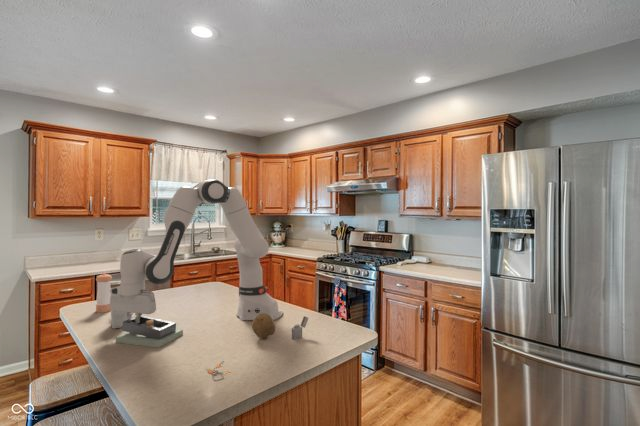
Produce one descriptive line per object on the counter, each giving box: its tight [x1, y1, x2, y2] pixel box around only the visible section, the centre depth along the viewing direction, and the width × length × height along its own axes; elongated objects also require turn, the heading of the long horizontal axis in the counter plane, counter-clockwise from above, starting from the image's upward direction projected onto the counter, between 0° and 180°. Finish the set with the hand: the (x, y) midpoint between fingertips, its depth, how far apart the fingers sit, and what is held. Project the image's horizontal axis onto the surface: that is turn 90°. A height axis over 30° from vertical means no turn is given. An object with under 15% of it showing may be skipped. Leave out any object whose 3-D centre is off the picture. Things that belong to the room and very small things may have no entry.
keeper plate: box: [115, 320, 184, 348], centre depth 139 cm, size 20×14×7 cm
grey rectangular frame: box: [121, 314, 177, 340], centre depth 139 cm, size 18×9×4 cm, turn 74°
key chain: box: [207, 360, 232, 382], centre depth 111 cm, size 13×7×1 cm, turn 28°
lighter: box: [291, 315, 309, 341], centre depth 139 cm, size 7×2×8 cm, turn 124°
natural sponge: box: [251, 313, 276, 340], centre depth 138 cm, size 9×9×10 cm
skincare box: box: [110, 294, 127, 329], centre depth 154 cm, size 8×6×15 cm
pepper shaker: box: [95, 272, 113, 313], centre depth 177 cm, size 7×7×19 cm
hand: (133, 322), depth 141 cm, fingers closed on grey rectangular frame, 2 cm apart
